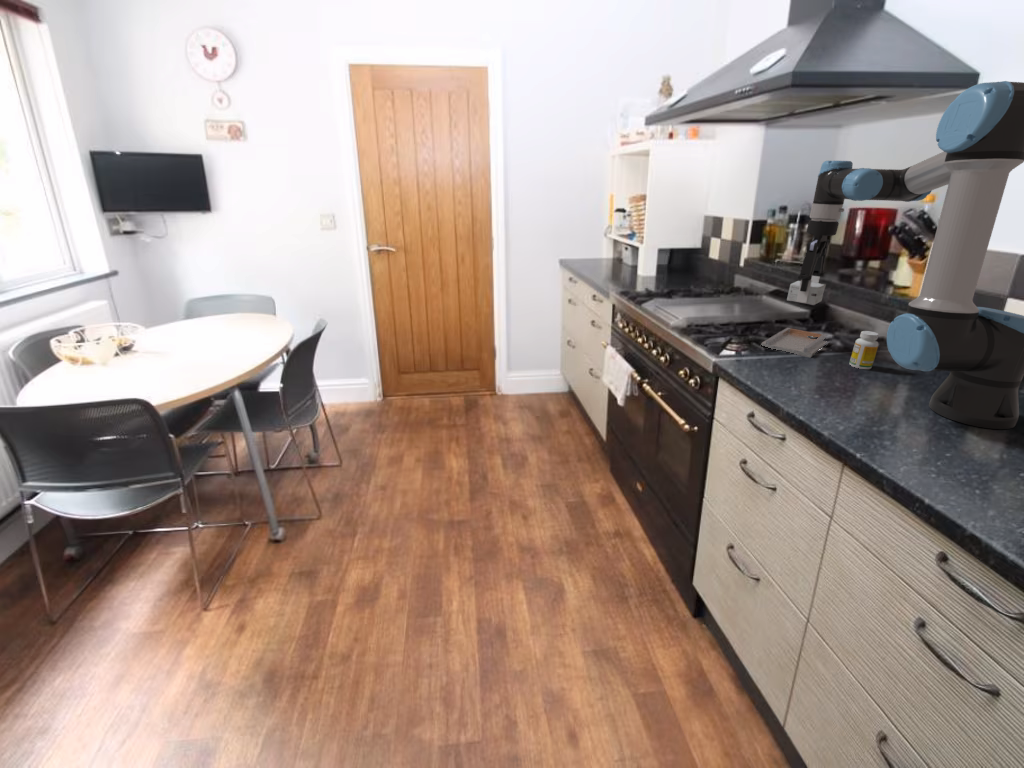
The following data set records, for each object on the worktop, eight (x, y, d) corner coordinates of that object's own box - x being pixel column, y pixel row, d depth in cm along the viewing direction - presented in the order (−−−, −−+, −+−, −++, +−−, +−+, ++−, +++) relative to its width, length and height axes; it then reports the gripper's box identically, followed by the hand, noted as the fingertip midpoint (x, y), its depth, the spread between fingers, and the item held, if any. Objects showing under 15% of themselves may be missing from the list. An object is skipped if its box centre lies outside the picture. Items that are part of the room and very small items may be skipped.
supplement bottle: (845, 365, 148) (854, 332, 144) (853, 361, 151) (862, 328, 148) (867, 371, 144) (877, 336, 141) (874, 367, 147) (884, 333, 144)
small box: (785, 300, 160) (789, 283, 158) (794, 296, 165) (798, 280, 163) (814, 305, 155) (818, 287, 153) (822, 301, 160) (826, 283, 158)
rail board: (810, 357, 154) (812, 349, 153) (760, 346, 162) (762, 339, 161) (828, 343, 168) (830, 335, 167) (781, 333, 176) (783, 326, 175)
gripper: (829, 223, 142) (809, 307, 150) (847, 219, 156) (828, 296, 165) (798, 220, 146) (781, 303, 155) (819, 217, 161) (802, 292, 169)
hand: (805, 299), depth 160 cm, fingers closed on small box, 8 cm apart
